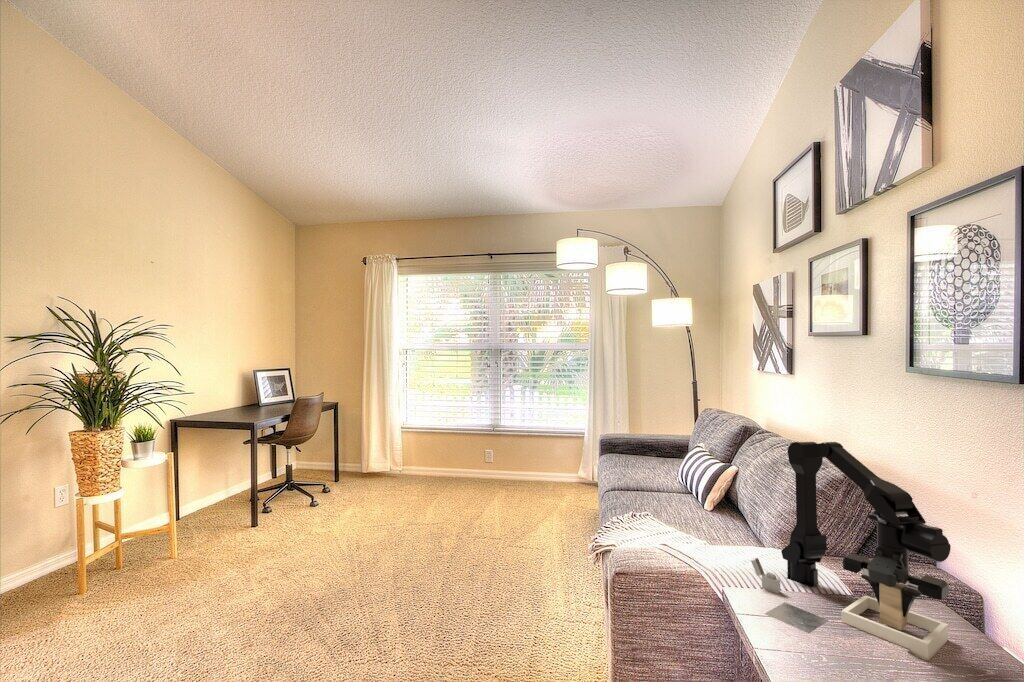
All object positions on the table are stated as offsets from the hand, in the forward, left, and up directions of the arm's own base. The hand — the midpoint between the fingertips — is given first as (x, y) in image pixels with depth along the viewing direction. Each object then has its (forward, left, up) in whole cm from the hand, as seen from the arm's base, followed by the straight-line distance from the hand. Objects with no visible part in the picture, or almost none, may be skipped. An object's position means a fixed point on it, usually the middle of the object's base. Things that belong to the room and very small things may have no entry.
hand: (893, 612), depth 112 cm
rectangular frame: (0, 0, -5) cm, 5 cm away
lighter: (-27, -5, -5) cm, 28 cm away
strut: (0, 0, -2) cm, 2 cm away
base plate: (-15, -14, -5) cm, 21 cm away
